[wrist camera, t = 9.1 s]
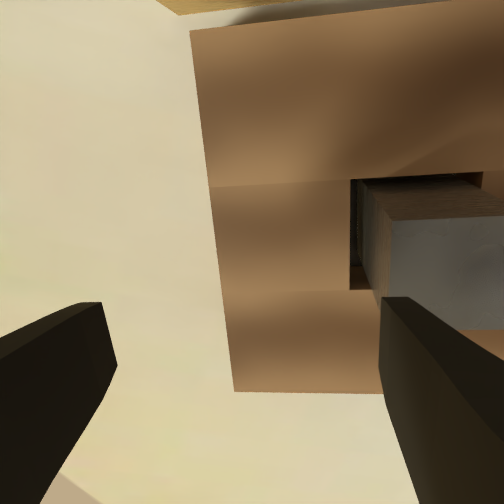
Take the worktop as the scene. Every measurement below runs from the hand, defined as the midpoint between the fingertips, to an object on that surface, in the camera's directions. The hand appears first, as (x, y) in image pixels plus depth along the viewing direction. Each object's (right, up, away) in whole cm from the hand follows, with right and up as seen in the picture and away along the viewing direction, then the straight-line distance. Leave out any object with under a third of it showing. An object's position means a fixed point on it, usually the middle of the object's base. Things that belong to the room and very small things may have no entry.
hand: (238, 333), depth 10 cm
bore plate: (+7, +4, +8) cm, 11 cm away
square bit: (+7, +4, +8) cm, 11 cm away
